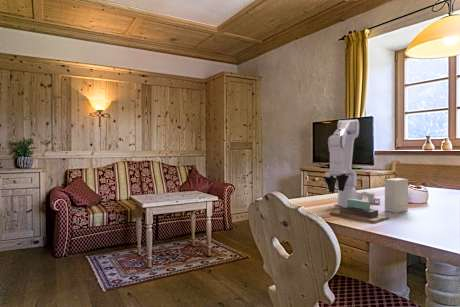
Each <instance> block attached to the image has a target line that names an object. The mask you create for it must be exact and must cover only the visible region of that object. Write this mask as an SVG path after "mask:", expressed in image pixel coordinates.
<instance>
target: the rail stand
mask: <svg viewBox="0 0 460 307" xmlns="http://www.w3.org/2000/svg"><path fill="white" fill-rule="evenodd" d="M329 215H331V216H335V217H341V218H345V219H350V220H355V221H359V222H364V223H370V224H376V223H380V222H383V221H386V220H389V219H390V216H389V215H384V214H379V210H378V209H374V208H373V209H372V208H370V210H369V211H365V210H363V209H362V208H356V207H354V208H348V206H347V205H346V206H339V210H333V211H330V212H329Z"/></svg>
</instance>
